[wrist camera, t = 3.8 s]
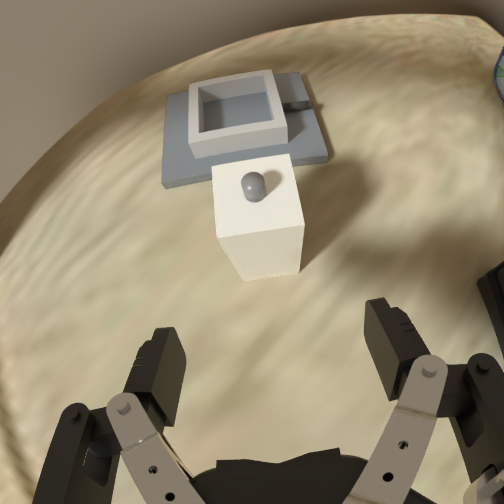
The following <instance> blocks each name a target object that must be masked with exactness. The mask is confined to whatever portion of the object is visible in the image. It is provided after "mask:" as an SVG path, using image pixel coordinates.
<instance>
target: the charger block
mask: <svg viewBox="0 0 504 504" xmlns="http://www.w3.org/2000/svg"><path fill="white" fill-rule="evenodd" d="M211 167H212V181H213V195H214V209H215V221H216V234H217V239H218V241H219V243H220V244H221V246H222V247H223V249H224V251H225V252H226V254H227V255H228V257H229V259H230V260H231V262H232V264H233V265H234V267H235V268H236V270H237V272H238V273H239V275H240V276H241V278H242V280H243V281H251V280H258V279H264V278H271V277H278V276H284V275H291V274H297V273H299V269H300V261H301V253H302V245H303V236H304V227H305V223H304V218H303V213H302V209H301V204H300V199H299V195H298V190H297V185H296V181H295V176H294V172H293V168H292V163H291V159H290V155H289V154H283V155H276V156H269V157H262V158H256V159H250V160H244V161H238V162H232V163H227V164H221V165H216V166H211Z"/></svg>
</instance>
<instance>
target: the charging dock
mask: <svg viewBox="0 0 504 504" xmlns="http://www.w3.org/2000/svg"><path fill="white" fill-rule="evenodd" d="M283 154H289V155H290V159H291V163H292V167H294V166H301V165H309V164H317V163H326V162H327V161H328V152H327V149H326V146H325V143H324V139H323V136H322V133H321V130H320V127H319V125H318V122H317V119H316V116H315V113H314V110H313V103H312V102H311V101H310V99H309V96H308V94H307V91H306V88H305V86H304V83H303V81H302V78H301V76H300V73H299V72H294V73H285V74H276V75H273V73H272V70H271V69H267V70H259V71H252V72H246V73H240V74H234V75H229V76H223V77H218V78H213V79H208V80H204V81H199V82H195V83H191V84H189V90H187V91H183V92H179V93H175V94H171V95H168V96H167V100H166V111H165V124H164V139H163V157H162V185H163V186H164V187H165V189H169V188H173V187H178V186H183V185H188V184H193V183H198V182H203V181H208V180H212V167H211V166H216V165H221V164H227V163H232V162H238V161H244V160H250V159H256V158H262V157H269V156H276V155H283Z"/></svg>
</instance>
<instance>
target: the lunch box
mask: <svg viewBox="0 0 504 504" xmlns="http://www.w3.org/2000/svg"><path fill="white" fill-rule="evenodd" d="M493 76H494V82H495V86H496V88H497V90H498V92H499V94H500V96H501V97H502V99H503V100H504V47H503V49H502V51H501V53H500V56H499V58H498V60H497V63H496V65H495V68H494V74H493Z"/></svg>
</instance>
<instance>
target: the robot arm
mask: <svg viewBox="0 0 504 504" xmlns="http://www.w3.org/2000/svg"><path fill="white" fill-rule="evenodd" d="M364 336H365V341H366V344H367V346H368V349H369V351H370V354H371V356H372V358H373V361H374V363H375V366H376V368H377V371H378V374H379V376H380V379H381V381H382V384H383V386H384V389H385V392H386V394H387V397H388V400H389V401H392V400H396V399H398V403H397V405H396V406H395V408H394V410H393V412H392V414H391V417H390V419H389V421H388V423H387V425H386V427H385V430H384V432H383V434H382V436H381V438H380V440H379V442H378V444H377V446H376V448H375V450H374V452H373V453H372V455H371V457H370V459H369V461H368V460H366V459H363V458H360V457H356V456H351V455H341V454H340V449H339V448H334V449H329V450H323V451H317V452H311V453H307V454H304V455H302V456H299V457H296V458H293V459H290V460H288V461H285V462H282V463H268V462H261V461H254V460H248V459H240V460H217V464H216V468H212V469H210V470H207V471H204V472H202V473H200V474H198V475H197V476H195V477H194V476H193V475H192V474H191V473H190V471H189V470H188V469H187V468H186V466H185V465H184V464H183V462H182V461H181V459H180V458H179V456H178V455H177V454H176V452H175V451H174V449H173V448H172V446H171V445H170V443H169V442H168V440H167V439H166V437H165V435H164V434H163V431H164V426H168V427H174V423H175V418H176V413H177V408H178V403H179V398H180V393H181V388H182V383H183V378H184V373H185V369H186V355H185V352H184V349H183V347H182V345H181V342H180V340H179V337H178V335H177V332H176V330H175V328H174V327H166V328H156V329H155V331H154V334H153V336H152V339H151V340H148V341H146V342H145V343H144V344H143V345H142V346H141V347H140V348H139V350H138V353H137V356H136V360H135V361H134V363H133V367H132V369H131V371H130V374H129V377H128V379H127V382H126V385H125V388H124V390H123V393H121V394H118V395H116V396H114V397H113V398H112V399H111V400H110V401H109V403H108V404H107V407H103V408H99V409H94V410H89V409H88V408H87V406H86V405H84V404H82V403H74V404H71V405H69V406H68V407H67V408H65V410H64V411H63V412H62V414H61V417H60V420H59V422H58V425H57V428H56V430H55V433H54V436H53V438H52V441H51V444H50V447H49V450H48V453H47V456H46V459H45V462H44V465H43V468H42V471H41V474H40V478H39V481H38V484H37V488H36V491H35V495H34V499H33V502H32V504H111V501H112V495H113V489H114V484H115V478H116V473H117V468H118V463H119V458H120V454H121V456H122V458H123V460H124V463H125V465H126V467H127V469H128V471H129V472H130V474H131V476H132V478H133V480H134V482H135V484H136V486H137V488H138V489H139V491H140V493H141V495H142V496H143V498H144V500H145V502H146V503H147V504H437V503H435V502H433V501H431V500H430V499H428V498H426V497H425V496H423V495H421V494H420V493H418V492H416V491H415V490H413V489H412V488H411V485H412V483H413V481H414V479H415V477H416V474H417V472H418V470H419V467H420V465H421V462H422V460H423V457H424V455H425V452H426V449H427V447H428V444H429V441H430V438H431V436H432V433H433V430H434V427H435V424H436V420H437V418H443V417H449V420H450V422H451V425H452V428H453V430H454V433H455V436H456V439H457V442H458V444H459V447H460V450H461V453H462V456H463V459H464V462H465V466H466V469H467V472H468V475H469V479H470V482H471V485H470V486H469V487H468V488H467V489H466V491H465V493H464V497H463V504H504V372H503V371H502V369H501V367H500V365H499V364H498V362H497V361H496V359H495V358H494V357H492V356H491V355H488V354H485V353H478V354H475V355H473V356H472V357H471V358H470V359H469V361H468V363H467V364H458V365H448V364H446V363H445V362H444V360H442V359H441V358H440V357H437V356H434V355H431V354H430V352H429V350H428V348H427V347H426V345H425V343H424V342H423V340H422V338H421V337H420V335H419V333H418V332H417V330H416V328H415V327H414V325H413V323H411V320H410V319H409V317H408V315H407V314H406V313H405V312H404V311H402V310H401V309H399V308H398V307H394V308H391V307H390V306H389V304H388V302H387V301H386V299H385V298H384V297H382V298H377V299H372V300H367V301H366V305H365V320H364ZM87 450H88V451H87ZM86 452H87V454H86ZM85 456H86V458H85ZM84 460H85V462H84ZM83 464H84V466H83Z"/></svg>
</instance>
